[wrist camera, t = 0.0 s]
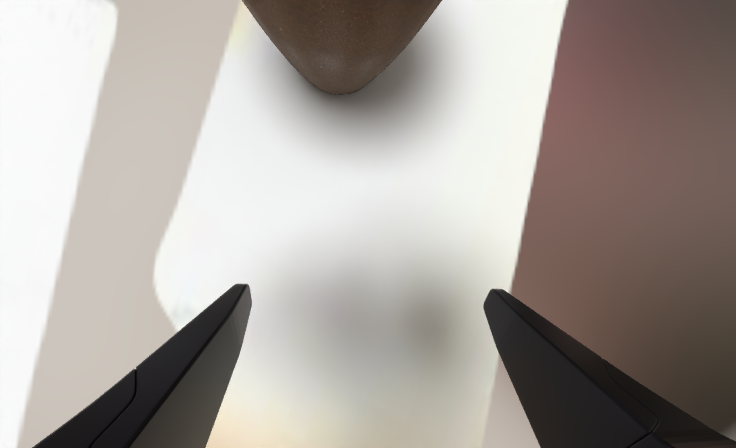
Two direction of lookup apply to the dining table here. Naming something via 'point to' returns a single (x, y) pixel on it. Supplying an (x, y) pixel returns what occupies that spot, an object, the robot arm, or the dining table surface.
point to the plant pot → (341, 36)
